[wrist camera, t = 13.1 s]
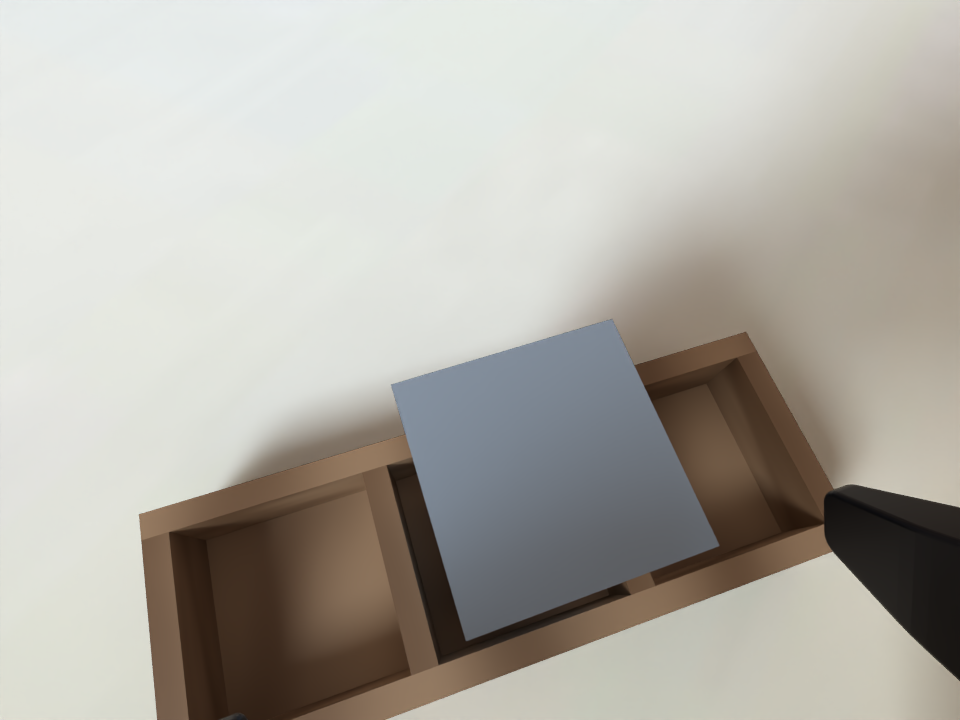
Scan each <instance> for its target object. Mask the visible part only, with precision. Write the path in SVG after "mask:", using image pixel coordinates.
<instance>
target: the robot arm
mask: <svg viewBox="0 0 960 720" xmlns="http://www.w3.org/2000/svg"><path fill="white" fill-rule="evenodd" d="M824 535H825V539H826V541H827V544H828V545H829V547H830V549H831V550H832V551H833V552H834V554H835V555H836V556H837V557H838V558H839V559H840V560H841V561H842V562H843V563H844V564H845V565H846V567H847V568H848V569H849V570H850V571H851V572H852V573H853V574H854V575H855V576H856V577H857V578H858V580H859V581H860V582H861V583H862V584H863V585H864V586H865V587H866V588H867V589H868V590H869V591H870V593H871V594H872V595H873V596H874V597H875V598H876V599H877V600H878V601H879V602H880V603H881V604H882V606H883V607H884V608H885V609H886V610H887V611H888V612H889V613H890V614H891V615H892V616H893V617H894V619H895V620H896V621H897V622H898V623H899V624H900V625H901V626H902V627H903V628H904V629H905V630H906V631H907V632H908V633H909V634H910V635H911V636H912V637H913V638H914V639H915V640H916V641H917V642H918V643H919V644H920V645H921V646H922V647H923V648H925V649H926V650H927V651H928V652H929V653H930V654H931V655H932V656H933V657H934V658H935V659H936V660H938V661H939V662H940V663H941V664H942V665H943V666H944V667H945V668H946V669H947V670H948V671H950V672H951V673H952V674H953V675H954V676H955V677H956V678H957V679H958V680H959V681H960V507H955V506H950V505H946V504H941V503H937V502H932V501H927V500H923V499H918V498H914V497H909V496H904V495H900V494H895V493H891V492H886V491H881V490H877V489H872V488H868V487H863V486H858V485H845V486H842V487H840V488H837V489H834V490H832V491H829V492H828V493H826V495H825V497H824ZM219 720H248V719H247V718H246V716H245V715H244V714H242V713H235V714H232V715H229V716H227V717H224V718H221V719H219Z"/></svg>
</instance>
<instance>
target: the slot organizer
mask: <svg viewBox="0 0 960 720" xmlns="http://www.w3.org/2000/svg"><path fill="white" fill-rule="evenodd" d="M634 366H635V368H636V370H637V372H638V375H639V377H640V379H641V381H642V383H643V385H644V387H645V389H646V391H647V394H648V396H649V398H650V400H651V402H652V404H653V406H654V408H655V410H656V413H657V415H658V417H659V419H660V421H661V423H662V425H663V427H664V429H665V431H666V434H667V436H668V438H669V440H670V442H671V444H672V446H673V448H674V450H675V453H676V455H677V457H678V459H679V461H680V463H681V465H682V467H683V469H684V472H685V474H686V476H687V478H688V480H689V482H690V484H691V486H692V488H693V491H694V493H695V495H696V497H697V499H698V501H699V503H700V505H701V507H702V510H703V512H704V514H705V516H706V518H707V520H708V522H709V524H710V526H711V528H712V531H713V533H714V535H715V537H716V539H717V541H718V543H719V545H720V546H718V547H715V548H713V549H710V550H707V551H705V552H702V553H700V554H697V555H694V556H692V557H689V558H686V559H684V560H681V561H678V562H676V563H673V564H670V565H668V566H665V567H662V568H660V569H657V570H654V571H652V572H649V573H646V574H644V575H641V576H638V577H636V578H633V579H630V580H628V581H625V582H622V583H620V584H617V585H614V586H612V587H609V588H607V589H604V590H601V591H599V592H596V593H593V594H591V595H588V596H585V597H583V598H580V599H577V600H575V601H572V602H569V603H567V604H564V605H561V606H559V607H556V608H553V609H551V610H548V611H545V612H543V613H540V614H537V615H535V616H532V617H529V618H527V619H524V620H521V621H519V622H516V623H514V624H511V625H508V626H506V627H503V628H500V629H498V630H495V631H492V632H490V633H487V634H484V635H482V636H479V637H476V638H474V639H471V640H468V641H466V639H465V636H464V633H463V629H462V626H461V622H460V619H459V616H458V612H457V609H456V605H455V602H454V598H453V595H452V592H451V588H450V585H449V581H448V578H447V574H446V571H445V568H444V564H443V561H442V557H441V554H440V551H439V547H438V544H437V540H436V537H435V533H434V530H433V527H432V523H431V520H430V516H429V513H428V509H427V506H426V503H425V499H424V496H423V492H422V489H421V485H420V482H419V479H418V475H417V472H416V468H415V465H414V462H413V458H412V455H411V451H410V448H409V444H408V441H407V438H406V434H405V435H402V436H398V437H395V438H392V439H388V440H385V441H382V442H378V443H375V444H372V445H368V446H365V447H362V448H358V449H355V450H352V451H348V452H345V453H342V454H338V455H335V456H332V457H328V458H325V459H322V460H318V461H315V462H312V463H308V464H305V465H302V466H299V467H295V468H292V469H289V470H285V471H282V472H279V473H275V474H272V475H269V476H265V477H262V478H259V479H255V480H252V481H249V482H245V483H242V484H239V485H235V486H232V487H229V488H225V489H222V490H219V491H215V492H212V493H209V494H205V495H202V496H199V497H195V498H192V499H189V500H185V501H182V502H179V503H176V504H172V505H169V506H166V507H162V508H159V509H156V510H152V511H149V512H146V513H142V514H139V519H140V530H141V542H142V553H143V564H144V575H145V587H146V598H147V609H148V620H149V632H150V643H151V654H152V665H153V677H154V688H155V699H156V710H157V720H219V719H221V718H224V717H227V716H229V715H232V714H235V713H242V714H244V715H245V716H246V718H247V719H248V720H386V719H388V718H391V717H394V716H396V715H399V714H402V713H404V712H407V711H410V710H412V709H415V708H418V707H420V706H423V705H426V704H428V703H431V702H434V701H436V700H439V699H442V698H444V697H447V696H450V695H452V694H455V693H458V692H460V691H463V690H466V689H468V688H471V687H474V686H476V685H479V684H481V683H484V682H487V681H489V680H492V679H495V678H497V677H500V676H503V675H505V674H508V673H511V672H513V671H516V670H519V669H521V668H524V667H527V666H529V665H532V664H535V663H537V662H540V661H543V660H545V659H548V658H551V657H553V656H556V655H559V654H561V653H564V652H567V651H569V650H572V649H575V648H577V647H580V646H583V645H585V644H588V643H591V642H593V641H596V640H599V639H601V638H604V637H607V636H609V635H612V634H615V633H617V632H620V631H622V630H625V629H628V628H630V627H633V626H636V625H638V624H641V623H644V622H646V621H649V620H652V619H654V618H657V617H660V616H662V615H665V614H668V613H670V612H673V611H676V610H678V609H681V608H684V607H686V606H689V605H692V604H694V603H697V602H700V601H702V600H705V599H708V598H710V597H713V596H716V595H718V594H721V593H724V592H726V591H729V590H732V589H734V588H737V587H740V586H742V585H745V584H748V583H750V582H753V581H755V580H758V579H761V578H763V577H766V576H769V575H771V574H774V573H777V572H779V571H782V570H785V569H787V568H790V567H793V566H795V565H798V564H801V563H803V562H806V561H809V560H811V559H814V558H817V557H819V556H822V555H825V554H827V553H830V552H833V551H832V550H831V549H830V547H829V545H828V544H827V541H826V539H825V535H824V497H825V495H826V493H828V492H829V491H832V490H834V489H833V487H832V485H831V483H830V482H829V480H828V478H827V476H826V474H825V473H824V471H823V469H822V467H821V466H820V464H819V462H818V460H817V458H816V457H815V455H814V453H813V451H812V449H811V448H810V446H809V444H808V442H807V440H806V439H805V437H804V435H803V433H802V431H801V430H800V428H799V426H798V424H797V422H796V421H795V419H794V417H793V415H792V413H791V412H790V410H789V408H788V406H787V404H786V403H785V401H784V399H783V397H782V395H781V394H780V392H779V390H778V388H777V386H776V385H775V383H774V381H773V379H772V378H771V376H770V374H769V372H768V370H767V369H766V367H765V365H764V363H763V361H762V360H761V358H760V356H759V354H758V352H757V351H756V349H755V347H754V345H753V343H752V342H751V340H750V338H749V336H748V334H747V333H746V332H744V333H741V334H737V335H734V336H731V337H727V338H724V339H721V340H717V341H714V342H711V343H707V344H704V345H701V346H697V347H694V348H691V349H687V350H684V351H681V352H677V353H674V354H671V355H668V356H664V357H661V358H658V359H654V360H651V361H648V362H644V363H641V364H638V365H634Z"/></svg>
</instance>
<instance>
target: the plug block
mask: <svg viewBox="0 0 960 720" xmlns="http://www.w3.org/2000/svg"><path fill="white" fill-rule="evenodd" d="M391 386H392V390H393V393H394V397H395V400H396V403H397V407H398V410H399V414H400V417H401V420H402V424H403V427H404V431H405V434H406V438H407V441H408V444H409V448H410V451H411V455H412V458H413V462H414V465H415V468H416V472H417V475H418V479H419V482H420V485H421V489H422V492H423V496H424V499H425V503H426V506H427V509H428V513H429V516H430V520H431V523H432V527H433V530H434V533H435V537H436V540H437V544H438V547H439V551H440V554H441V557H442V561H443V564H444V568H445V571H446V574H447V578H448V581H449V585H450V588H451V592H452V595H453V598H454V602H455V605H456V609H457V612H458V616H459V619H460V622H461V626H462V629H463V633H464V636H465V639H466V641H468V640H471V639H474V638H476V637H479V636H482V635H484V634H487V633H490V632H492V631H495V630H498V629H500V628H503V627H506V626H508V625H511V624H514V623H516V622H519V621H521V620H524V619H527V618H529V617H532V616H535V615H537V614H540V613H543V612H545V611H548V610H551V609H553V608H556V607H559V606H561V605H564V604H567V603H569V602H572V601H575V600H577V599H580V598H583V597H585V596H588V595H591V594H593V593H596V592H599V591H601V590H604V589H607V588H609V587H612V586H614V585H617V584H620V583H622V582H625V581H628V580H630V579H633V578H636V577H638V576H641V575H644V574H646V573H649V572H652V571H654V570H657V569H660V568H662V567H665V566H668V565H670V564H673V563H676V562H678V561H681V560H684V559H686V558H689V557H692V556H694V555H697V554H700V553H702V552H705V551H707V550H710V549H713V548H715V547H718V546H720V545H719V543H718V541H717V539H716V537H715V535H714V533H713V531H712V528H711V526H710V524H709V522H708V520H707V518H706V516H705V514H704V512H703V510H702V507H701V505H700V503H699V501H698V499H697V497H696V495H695V493H694V491H693V488H692V486H691V484H690V482H689V480H688V478H687V476H686V474H685V472H684V469H683V467H682V465H681V463H680V461H679V459H678V457H677V455H676V453H675V450H674V448H673V446H672V444H671V442H670V440H669V438H668V436H667V434H666V431H665V429H664V427H663V425H662V423H661V421H660V419H659V417H658V415H657V413H656V410H655V408H654V406H653V404H652V402H651V400H650V398H649V396H648V394H647V391H646V389H645V387H644V385H643V383H642V381H641V379H640V377H639V375H638V372H637V370H636V368H635V366H634V364H633V362H632V360H631V358H630V356H629V353H628V351H627V349H626V347H625V345H624V343H623V341H622V339H621V337H620V334H619V332H618V330H617V328H616V326H615V324H614V322H613V320H612V319H610V320H607V321H604V322H600V323H597V324H594V325H590V326H587V327H584V328H580V329H577V330H573V331H570V332H567V333H563V334H560V335H557V336H553V337H550V338H547V339H543V340H540V341H536V342H533V343H530V344H526V345H523V346H520V347H516V348H513V349H510V350H506V351H503V352H499V353H496V354H493V355H489V356H486V357H483V358H479V359H476V360H473V361H469V362H466V363H462V364H459V365H456V366H452V367H449V368H446V369H442V370H439V371H436V372H432V373H429V374H425V375H422V376H419V377H415V378H412V379H409V380H405V381H402V382H399V383H395V384H392V385H391Z"/></svg>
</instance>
